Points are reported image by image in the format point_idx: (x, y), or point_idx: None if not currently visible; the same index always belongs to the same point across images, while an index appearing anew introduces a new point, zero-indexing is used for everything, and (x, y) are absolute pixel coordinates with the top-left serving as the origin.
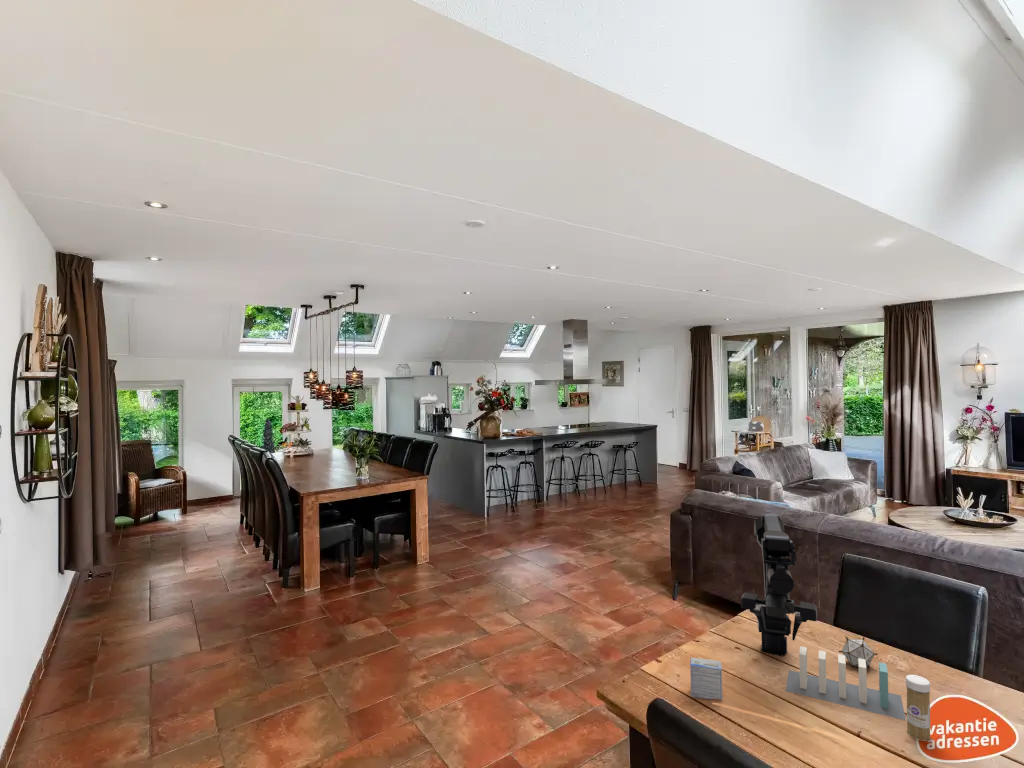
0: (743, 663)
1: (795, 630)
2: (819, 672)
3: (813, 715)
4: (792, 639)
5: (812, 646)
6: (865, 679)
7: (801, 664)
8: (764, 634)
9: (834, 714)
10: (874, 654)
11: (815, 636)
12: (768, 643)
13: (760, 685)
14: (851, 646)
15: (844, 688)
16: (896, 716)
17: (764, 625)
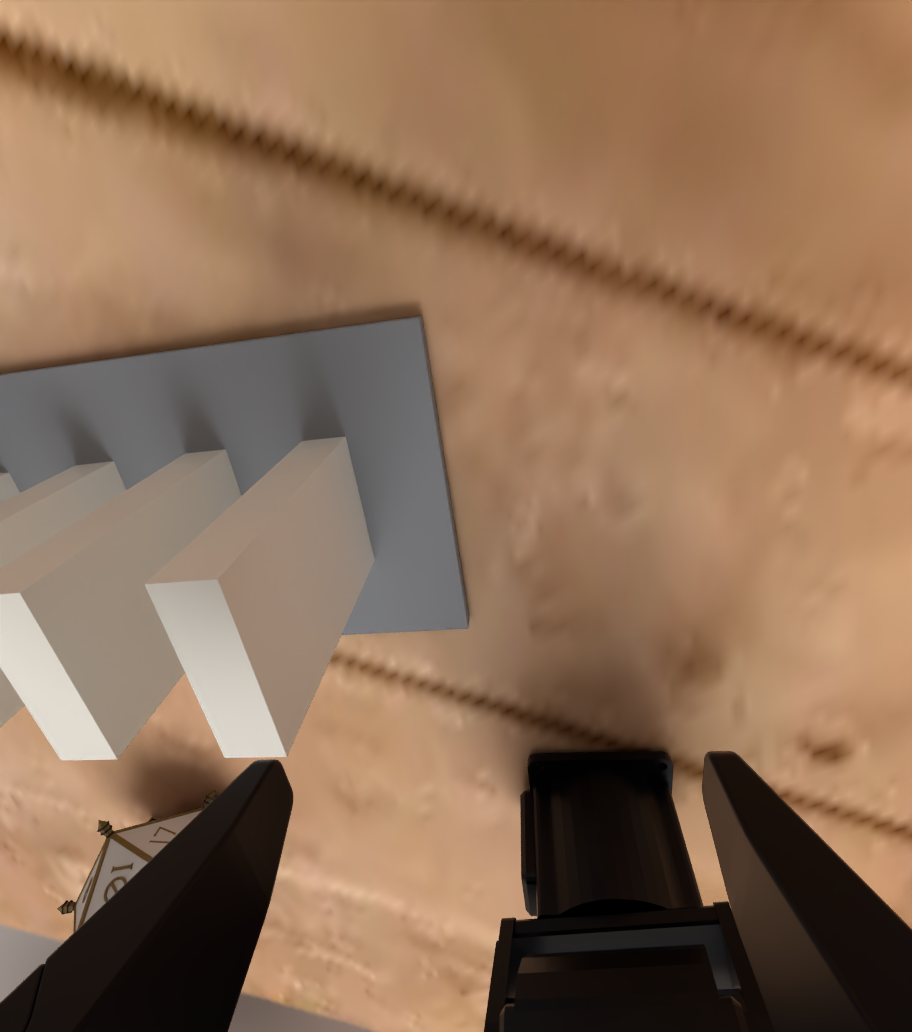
0: (779, 582)
1: (89, 951)
2: (128, 515)
3: (144, 71)
4: (271, 768)
5: (426, 899)
6: None
7: (252, 519)
8: (720, 751)
9: (53, 217)
10: (77, 902)
11: (437, 970)
12: (634, 825)
13: (622, 317)
14: None
15: (29, 492)
16: None
17: (793, 955)
